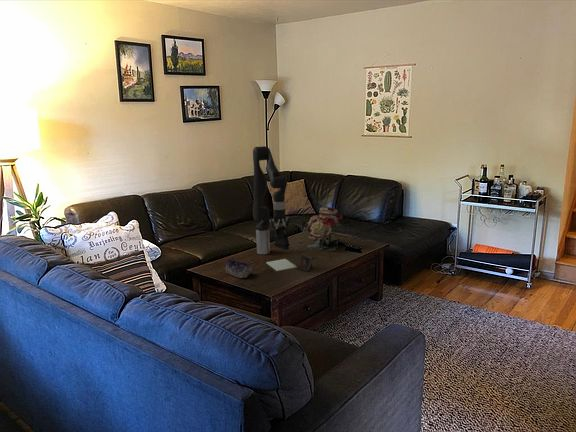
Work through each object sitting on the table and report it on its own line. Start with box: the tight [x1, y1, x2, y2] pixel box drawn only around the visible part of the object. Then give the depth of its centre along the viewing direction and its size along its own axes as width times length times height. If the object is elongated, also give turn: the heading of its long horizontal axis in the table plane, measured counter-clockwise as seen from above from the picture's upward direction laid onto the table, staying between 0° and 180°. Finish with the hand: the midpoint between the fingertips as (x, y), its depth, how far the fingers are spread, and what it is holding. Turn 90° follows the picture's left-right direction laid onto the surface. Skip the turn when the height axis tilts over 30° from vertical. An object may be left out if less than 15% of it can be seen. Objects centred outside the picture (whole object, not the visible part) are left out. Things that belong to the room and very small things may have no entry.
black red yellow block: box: [271, 226, 291, 251], centre depth 299 cm, size 4×13×15 cm, turn 41°
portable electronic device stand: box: [296, 254, 315, 273], centre depth 294 cm, size 9×8×8 cm
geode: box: [225, 257, 253, 279], centre depth 288 cm, size 20×12×10 cm, turn 53°
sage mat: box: [266, 258, 298, 272], centre depth 303 cm, size 18×14×1 cm
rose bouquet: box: [306, 205, 346, 252], centre depth 337 cm, size 26×29×30 cm
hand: (280, 233), depth 298 cm, fingers closed on black red yellow block, 4 cm apart
